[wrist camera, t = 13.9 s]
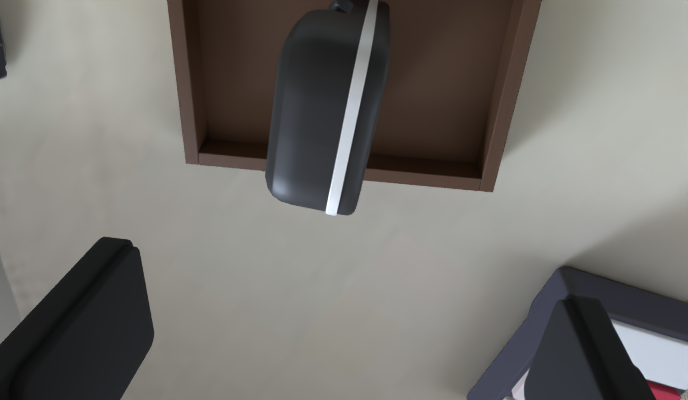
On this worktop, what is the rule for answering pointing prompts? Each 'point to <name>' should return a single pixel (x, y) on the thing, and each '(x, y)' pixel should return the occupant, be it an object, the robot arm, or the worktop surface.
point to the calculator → (629, 322)
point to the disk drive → (2, 59)
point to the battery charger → (328, 105)
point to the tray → (399, 94)
